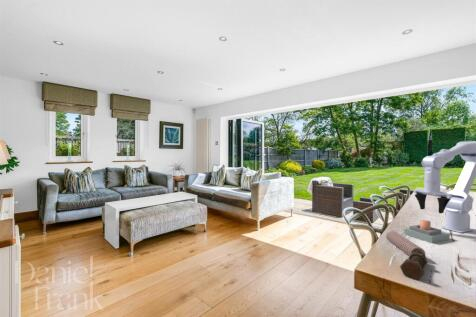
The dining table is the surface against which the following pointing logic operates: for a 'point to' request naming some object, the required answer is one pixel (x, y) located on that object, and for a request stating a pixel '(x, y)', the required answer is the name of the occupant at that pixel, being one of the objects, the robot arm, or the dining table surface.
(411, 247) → the coil
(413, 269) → the bolt
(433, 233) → the socket board
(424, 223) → the peg
